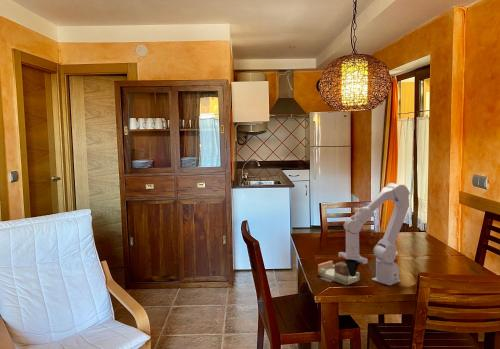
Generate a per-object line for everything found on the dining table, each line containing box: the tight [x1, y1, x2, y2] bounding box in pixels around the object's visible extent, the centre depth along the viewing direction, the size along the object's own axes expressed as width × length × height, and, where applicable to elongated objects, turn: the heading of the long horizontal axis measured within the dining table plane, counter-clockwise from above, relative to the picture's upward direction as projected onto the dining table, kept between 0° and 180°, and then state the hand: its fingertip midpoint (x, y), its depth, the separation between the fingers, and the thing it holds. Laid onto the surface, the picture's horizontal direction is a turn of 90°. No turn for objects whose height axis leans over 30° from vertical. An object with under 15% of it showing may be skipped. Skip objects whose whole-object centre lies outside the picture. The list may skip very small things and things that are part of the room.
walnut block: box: [334, 261, 350, 276], centre depth 177 cm, size 5×5×5 cm
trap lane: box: [317, 260, 361, 286], centre depth 179 cm, size 17×9×5 cm, turn 36°
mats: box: [319, 276, 335, 283], centre depth 179 cm, size 11×15×1 cm
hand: (352, 275), depth 173 cm, fingers closed
